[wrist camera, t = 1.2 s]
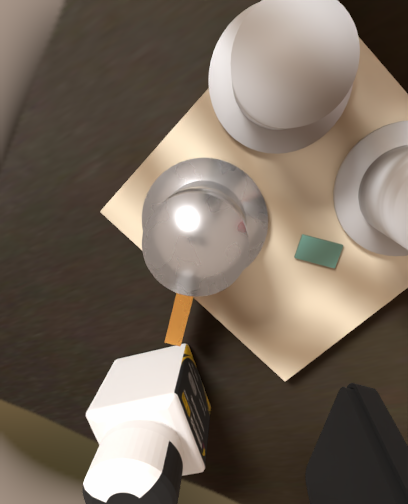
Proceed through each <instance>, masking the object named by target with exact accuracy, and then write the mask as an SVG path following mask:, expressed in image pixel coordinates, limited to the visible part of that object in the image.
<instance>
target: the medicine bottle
mask: <svg viewBox="0 0 408 504" xmlns="http://www.w3.org/2000/svg"><path fill="white" fill-rule="evenodd" d="M210 411H211V406H210V403H209V401H208V398H207V395H206V392H205V389H204V387H203V384H202V381H201V378H200V375H199V373H198V370H197V367H196V364H195V362H194V359H193V356H192V353H191V350H190V348H189V345H188V344H181V346H171V347H167V348H163V349H159V350H154V351H150V352H146V353H141V354H137V355H133V356H128V357H124V358H120V359H116V360H115V361H114V363H113V365H112V367H111V368H110V370H109V372H108V374H107V376H106V378H105V379H104V381H103V383H102V385H101V387H100V389H99V390H98V392H97V394H96V396H95V398H94V399H93V401H92V403H91V405H90V407H89V409H88V410H87V412H86V417H87V419H88V422H89V424H90V426H91V428H92V430H93V432H94V434H95V436H96V439H97V441H98V443H99V445H100V446H99V448H98V450H97V453H96V455H95V457H94V459H93V461H92V464H91V466H90V468H89V470H88V473H87V475H86V477H85V480H84V483H83V496H84V499H85V502H86V504H177V503H178V497H179V490H180V484H181V478H182V476H183V475H189V474H195V473H201V472H203V471H204V469H205V463H206V453H207V442H208V432H209V421H210Z"/></svg>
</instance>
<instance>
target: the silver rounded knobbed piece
mask: <svg viewBox="0 0 408 504" xmlns="http://www.w3.org/2000/svg"><path fill="white" fill-rule="evenodd" d="M142 228H143V235H142V251H143V256H144V259H145V262H146V264H147V267H148V268H149V270H150V272H151V273H152V274H153V276H154V277H155V278H156V279H157V280H158V281H159V282H160V283H161V284H162V285H164V286H165V287H167V288H168V289H170V290H172V291H174V292H176V293H177V294H176V298H175V302H174V306H173V310H172V314H171V318H170V322H169V327H168V331H167V335H166V339H165V343H169V344H173V345H176V346H181V342H182V339H183V335H184V331H185V327H186V324H187V320H188V316H189V312H190V308H191V305H192V301H193V297H200V296H208V295H212V294H216V293H218V292H220V291H222V290H224V289H226V288H227V287H229V286H230V285H231V284H233V283H234V282H235V281H236V279H237V278H238V277H239V276H240V274H241V273H242V271H243V270H244V269H245V268H247V267H248V266H249V265H250V264H251V263H252V262H253V261H254V259H255V258H256V257H257V255H258V254H259V252H260V250H261V249H262V247H263V244H264V242H265V239H266V235H267V230H268V213H267V207H266V204H265V200H264V198H263V196H262V193H261V191H260V189H259V188H258V186H257V185H256V183H255V182H254V181H253V180H252V178H251V177H250V176H249V175H248V174H247V173H245V172H244V171H243V170H242V169H240V168H239V167H237V166H235V165H233V164H231V163H229V162H227V161H224V160H221V159H216V158H206V157H202V158H193V159H189V160H185V161H183V162H180V163H178V164H176V165H174V166H172V167H170V168H169V169H167V170H166V171H165V172H163V173H162V174H161V175H160V176H159V177H158V178H157V179H156V181H155V182H154V183H153V184H152V186H151V188H150V189H149V191H148V193H147V196H146V198H145V201H144V205H143V210H142Z"/></svg>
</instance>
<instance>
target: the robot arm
mask: <svg viewBox="0 0 408 504" xmlns="http://www.w3.org/2000/svg"><path fill="white" fill-rule="evenodd" d="M306 485H307V490H308V495H309V500H310V504H408V446H407V444H406V442H405V441H404V439H403V437H402V435H401V433H400V432H399V430H398V428H397V426H396V424H395V423H394V421H393V419H392V417H391V415H390V414H389V412H388V410H387V408H386V406H385V405H384V403H383V401H382V399H381V397H380V396H379V394H378V392H377V391H376V390H375V389H373V388H370V387H366V386H362V385H358V384H354V383H351V384H349V385H348V386H347V388H346V387H342V388H341V389H340V390H339V392H338V394H337V397H336V399H335V401H334V404H333V406H332V408H331V411H330V413H329V416H328V418H327V420H326V423H325V425H324V427H323V430H322V432H321V434H320V437H319V439H318V441H317V444H316V446H315V448H314V451H313V453H312V455H311V458H310V460H309V462H308V465H307V468H306Z"/></svg>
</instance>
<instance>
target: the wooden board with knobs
mask: <svg viewBox="0 0 408 504" xmlns="http://www.w3.org/2000/svg"><path fill="white" fill-rule="evenodd" d="M202 157H206V158H216V159H221V160H224V161H227V162H229V163H231V164H233V165H235V166H237V167H239V168H240V169H242V170H243V171H244V172H245V173H247V174H248V175H249V176H250V177H251V178H252V180H253V181H254V182H255V183H256V185H257V186H258V188H259V189H260V191H261V193H262V196H263V198H264V200H265V204H266V207H267V213H268V230H267V235H266V239H265V242H264V244H263V247H262V249H261V250H260V252H259V254H258V255H257V257H256V258H255V259H254V261H253V262H252V263H251V264H250V265H249V266H248V267H247V268H245V269H244V270H243V271H242V273H241V274H240V276H239V277H238V278H237V279H236V281H235V282H234V283H233V284H231V285H230V286H229V287H227V288H226V289H224V290H222V291H220V292H218V293H216V294H212V295H208V296H200V297H193V298H195V299H196V300H197V301H198V302H199V303H200V304H201V305H202V306H203V307H204V308H205V309H207V310H208V311H209V312H210V313H211V314H212V315H213V316H214V317H215V318H216V319H217V320H219V321H220V322H221V323H222V324H223V325H224V326H225V327H226V328H227V329H228V330H229V331H231V332H232V333H233V334H234V335H235V336H236V337H237V338H238V339H239V340H240V341H241V342H242V343H244V344H245V345H246V346H247V347H248V348H249V349H250V350H251V351H252V352H253V353H254V354H256V355H257V356H258V357H259V358H260V359H261V360H262V361H263V362H264V363H265V364H266V365H268V366H269V367H270V368H271V369H272V370H273V371H274V372H275V373H276V374H277V375H278V376H280V377H281V378H282V379H283V380H284V381H287V380H288V379H289V378H291V377H292V376H293V375H294V374H296V373H297V372H298V371H300V370H301V369H302V368H304V367H305V366H306V365H307V364H309V363H310V362H311V361H313V360H314V359H315V358H317V357H318V356H319V355H320V354H322V353H323V352H324V351H326V350H327V349H328V348H330V347H331V346H332V345H334V344H335V343H336V342H337V341H339V340H340V339H341V338H343V337H344V336H345V335H347V334H348V333H349V332H350V331H352V330H353V329H354V328H356V327H357V326H358V325H360V324H361V323H362V322H363V321H365V320H366V319H367V318H369V317H370V316H371V315H373V314H374V313H375V312H377V311H378V310H379V309H380V308H382V307H383V306H384V305H386V304H387V303H388V302H390V301H391V300H392V299H393V298H395V297H396V296H397V295H399V294H400V293H401V292H403V291H404V290H405V289H406V288H408V94H407V93H406V91H405V90H404V89H403V88H402V87H401V86H400V84H399V83H398V82H397V81H396V80H395V79H394V77H393V76H392V75H391V74H390V73H389V72H388V70H387V69H386V68H385V67H384V66H383V65H382V63H381V62H380V61H379V60H378V59H377V58H376V56H375V55H374V54H373V53H372V52H371V51H370V49H369V48H368V47H367V46H366V45H365V44H364V42H363V41H362V40H361V39H360V38H359V37H358V33H357V30H356V27H355V24H354V22H353V20H352V18H351V16H350V14H349V13H348V11H347V10H346V9H345V7H344V6H343V5H342V4H341V3H340V2H339V1H338V0H262V1H260V2H259V3H257V4H254V5H252V6H251V7H249V8H248V9H246V10H244V11H243V12H242V13H241V14H239V15H238V16H237V17H236V18H235V19H234V20H233V21H232V22H231V23H230V24H229V25H228V27H227V28H226V29H225V31H224V32H223V34H222V35H221V37H220V39H219V41H218V43H217V45H216V47H215V50H214V52H213V56H212V59H211V63H210V69H209V88H208V90H207V91H206V92H205V93H204V94H203V95H202V96H201V97H200V99H199V100H198V101H197V102H196V103H195V104H194V105H193V107H192V108H191V109H190V110H189V111H188V112H187V113H186V115H185V116H184V117H183V118H182V119H181V120H180V121H179V123H178V124H177V125H176V126H175V127H174V128H173V129H172V130H171V132H170V133H169V134H168V135H167V136H166V137H165V138H164V140H163V141H162V142H161V143H160V144H159V145H158V146H157V148H156V149H155V150H154V151H153V152H152V153H151V154H150V155H149V157H148V158H147V159H146V160H145V161H144V162H143V163H142V165H141V166H140V167H139V168H138V169H137V170H136V171H135V173H134V174H133V175H132V176H131V177H130V178H129V179H128V180H127V182H126V183H125V184H124V185H123V186H122V187H121V188H120V190H119V191H118V192H117V193H116V194H115V195H114V196H113V198H112V199H111V200H110V201H109V202H108V203H107V204H106V205H105V207H104V208H103V209H102V210H101V211H100V212H101V213H102V214H103V215H104V216H105V217H106V218H107V219H109V220H110V221H111V222H112V223H113V224H114V225H115V226H116V227H117V228H118V229H119V230H121V231H122V232H123V233H124V234H125V235H126V236H127V237H128V238H129V239H130V240H131V241H133V242H134V243H135V244H136V245H137V246H138V247H139V248H140V249H141V250H142V235H143V228H142V210H143V205H144V201H145V198H146V196H147V193H148V191H149V189H150V188H151V186H152V184H153V183H154V182H155V181H156V179H157V178H158V177H159V176H160V175H161V174H162V173H163V172H165V171H166V170H167V169H169V168H170V167H172V166H174V165H176V164H178V163H180V162H183V161H185V160H189V159H193V158H202Z"/></svg>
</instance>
